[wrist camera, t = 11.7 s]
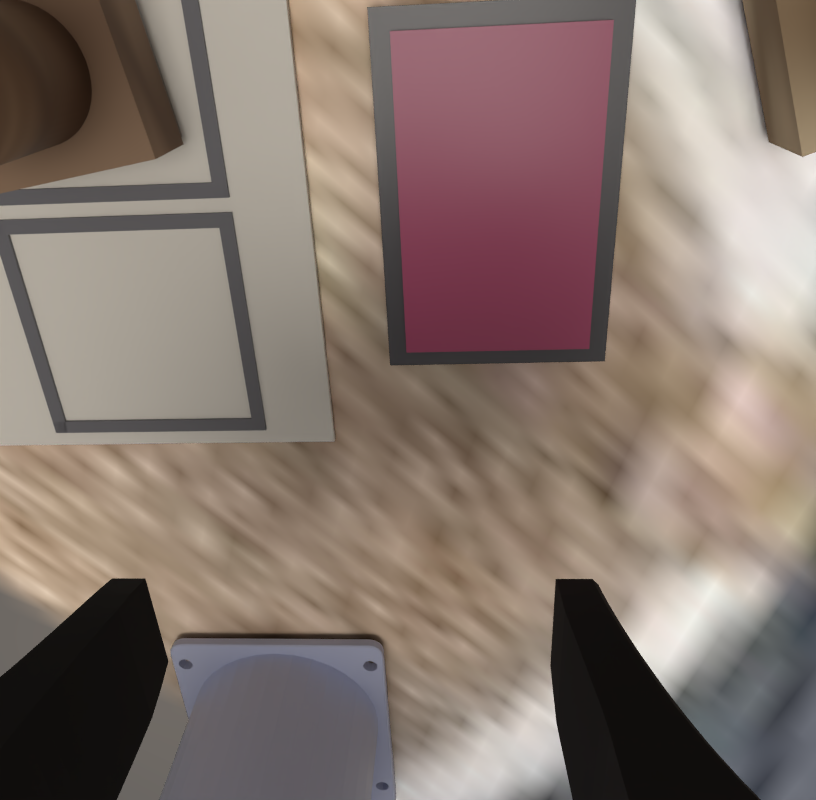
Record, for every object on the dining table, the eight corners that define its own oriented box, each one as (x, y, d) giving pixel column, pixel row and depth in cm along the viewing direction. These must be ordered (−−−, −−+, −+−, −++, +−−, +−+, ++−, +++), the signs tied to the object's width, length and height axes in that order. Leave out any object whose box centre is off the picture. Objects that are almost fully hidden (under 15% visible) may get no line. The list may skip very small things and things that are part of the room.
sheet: (335, 438, 23) (334, 443, 23) (3, 442, 24) (-3, 446, 24) (272, -142, 16) (269, -144, 16) (-195, -110, 17) (-205, -112, 17)
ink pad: (598, 346, 21) (606, 365, 20) (392, 350, 22) (389, 369, 21) (627, -7, 17) (639, -7, 16) (371, 6, 18) (366, 7, 17)
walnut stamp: (189, 140, 19) (77, 199, 13) (33, 176, 20) (-138, 246, 14) (123, -58, 17) (-42, -89, 11) (-49, -12, 18) (-287, -18, 12)
